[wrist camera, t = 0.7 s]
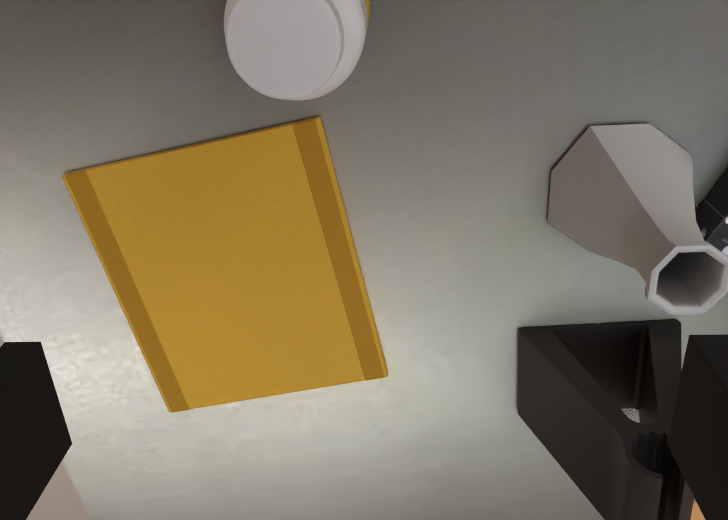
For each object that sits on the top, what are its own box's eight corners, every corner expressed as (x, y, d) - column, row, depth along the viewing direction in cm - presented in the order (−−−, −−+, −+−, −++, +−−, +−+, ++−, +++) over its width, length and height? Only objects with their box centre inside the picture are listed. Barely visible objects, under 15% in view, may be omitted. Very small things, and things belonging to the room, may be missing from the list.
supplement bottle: (260, 67, 33) (212, 120, 24) (251, -55, 31) (194, -44, 22) (371, 66, 33) (362, 120, 24) (370, -57, 30) (360, -45, 22)
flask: (715, 141, 34) (829, 223, 25) (649, 265, 37) (729, 376, 28) (578, 102, 33) (645, 171, 24) (524, 231, 36) (565, 334, 28)
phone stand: (516, 409, 42) (557, 579, 31) (517, 326, 39) (563, 481, 28) (666, 403, 41) (761, 575, 30) (678, 319, 38) (787, 475, 28)
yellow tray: (65, 172, 36) (60, 175, 36) (320, 115, 34) (319, 118, 34) (171, 407, 43) (168, 413, 42) (388, 371, 41) (388, 377, 40)
